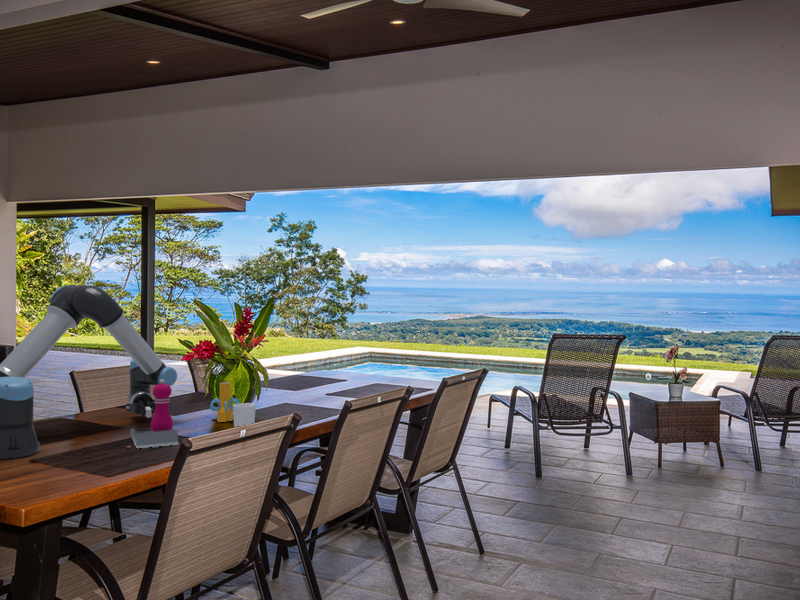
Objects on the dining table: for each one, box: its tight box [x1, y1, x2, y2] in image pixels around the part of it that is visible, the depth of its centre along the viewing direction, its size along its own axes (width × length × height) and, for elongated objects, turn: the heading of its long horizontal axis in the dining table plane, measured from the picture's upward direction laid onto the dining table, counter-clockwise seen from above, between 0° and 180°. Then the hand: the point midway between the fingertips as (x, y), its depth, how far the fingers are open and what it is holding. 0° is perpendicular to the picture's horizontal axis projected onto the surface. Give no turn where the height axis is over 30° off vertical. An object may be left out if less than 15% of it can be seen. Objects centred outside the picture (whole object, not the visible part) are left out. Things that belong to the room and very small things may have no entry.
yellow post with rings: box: [209, 381, 240, 423], centre depth 259 cm, size 12×10×15 cm
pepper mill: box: [150, 379, 174, 431], centre depth 226 cm, size 7×7×20 cm
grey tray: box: [129, 428, 179, 450], centre depth 228 cm, size 22×13×5 cm, turn 27°
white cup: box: [232, 402, 256, 427], centre depth 240 cm, size 8×8×10 cm
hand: (149, 413), depth 233 cm, fingers closed
